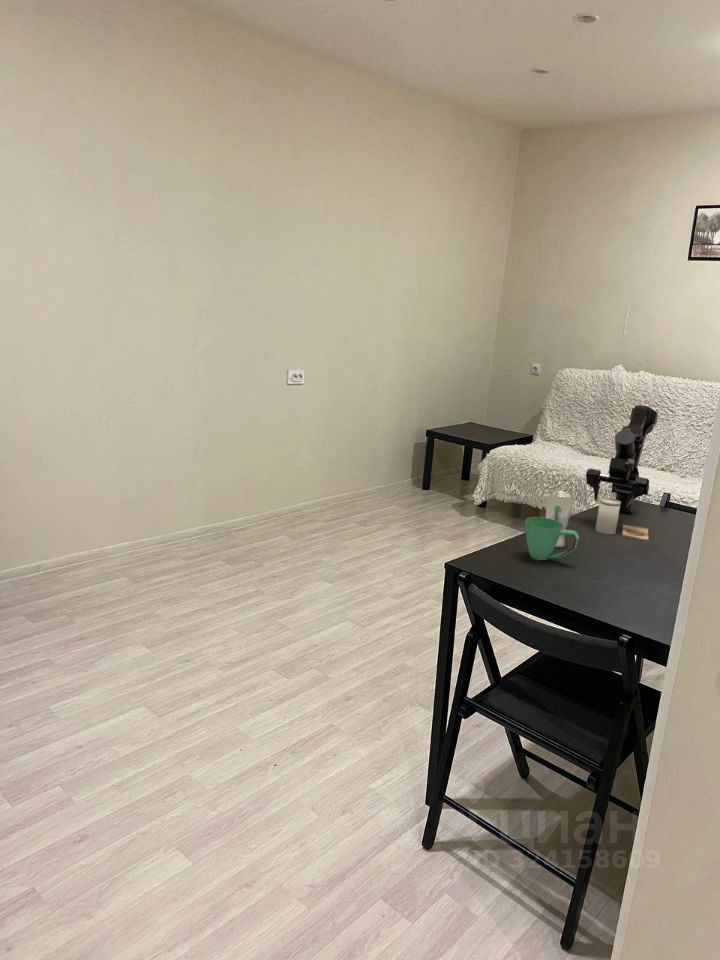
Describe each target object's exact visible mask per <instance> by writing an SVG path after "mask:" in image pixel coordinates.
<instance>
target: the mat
mask: <svg viewBox="0 0 720 960" xmlns="http://www.w3.org/2000/svg"><path fill="white" fill-rule="evenodd" d="M621 531H622V532H621V536H623V538H628V537H629V538H630V539H636V540H641V541H647V542H649V528H648V527H647V528H646V527H641V526H635V525H630V524H629V525H628V524H622V530H621ZM629 538H628V539H629Z"/></svg>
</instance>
